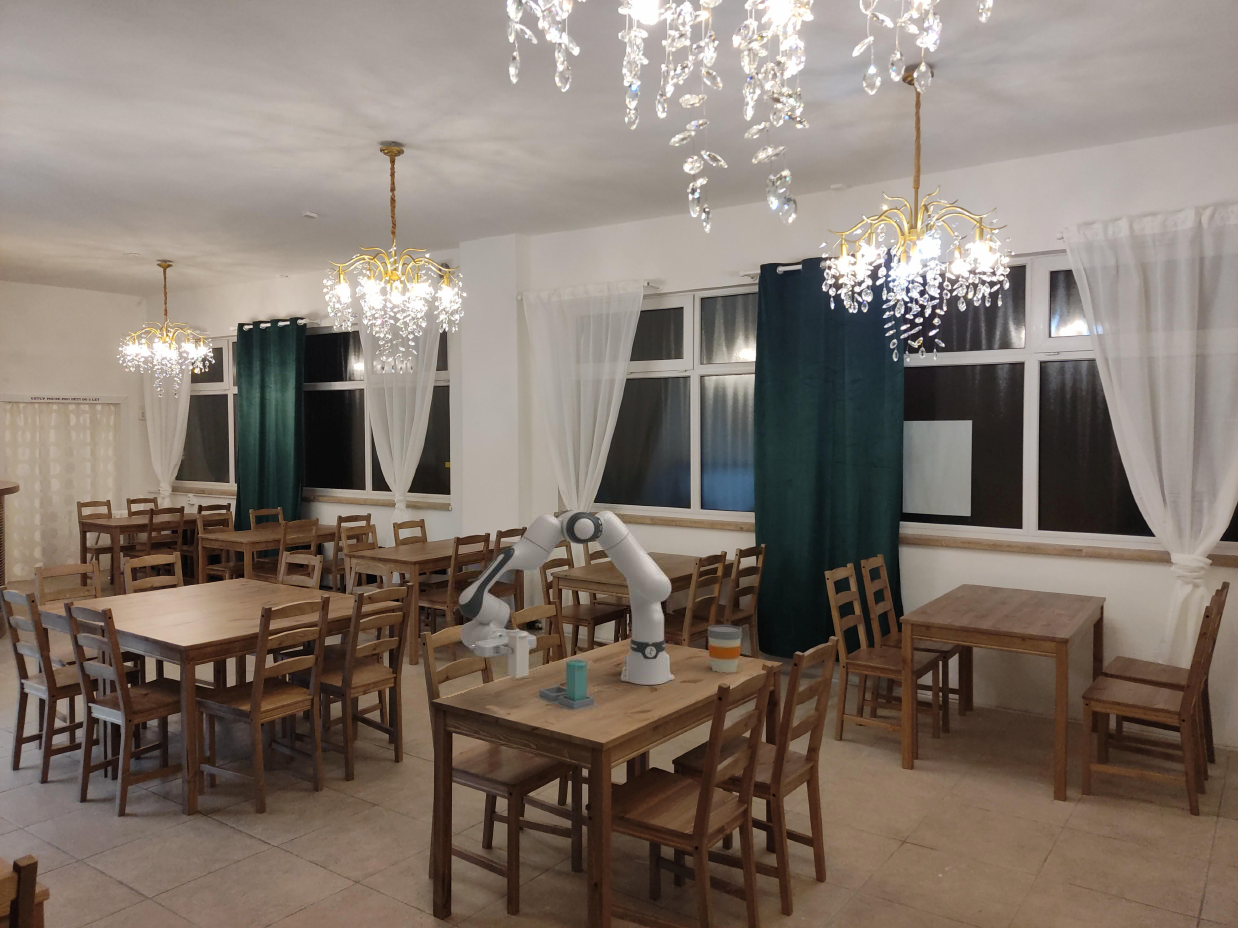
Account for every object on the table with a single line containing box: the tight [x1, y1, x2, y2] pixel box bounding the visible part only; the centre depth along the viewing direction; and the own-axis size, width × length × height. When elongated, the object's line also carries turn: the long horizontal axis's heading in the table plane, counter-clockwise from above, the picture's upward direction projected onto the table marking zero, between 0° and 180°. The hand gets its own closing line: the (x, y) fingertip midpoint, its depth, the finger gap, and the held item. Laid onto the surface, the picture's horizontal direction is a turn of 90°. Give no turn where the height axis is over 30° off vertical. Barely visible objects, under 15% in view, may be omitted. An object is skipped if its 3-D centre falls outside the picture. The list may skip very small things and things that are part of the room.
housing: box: [534, 685, 600, 712], centre depth 274 cm, size 20×10×4 cm, turn 41°
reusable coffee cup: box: [707, 624, 743, 674], centre depth 319 cm, size 13×13×15 cm
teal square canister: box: [565, 658, 588, 702], centre depth 270 cm, size 6×6×13 cm
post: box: [507, 630, 530, 679], centre depth 268 cm, size 6×6×13 cm
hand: (520, 649), depth 267 cm, fingers closed on post, 4 cm apart
